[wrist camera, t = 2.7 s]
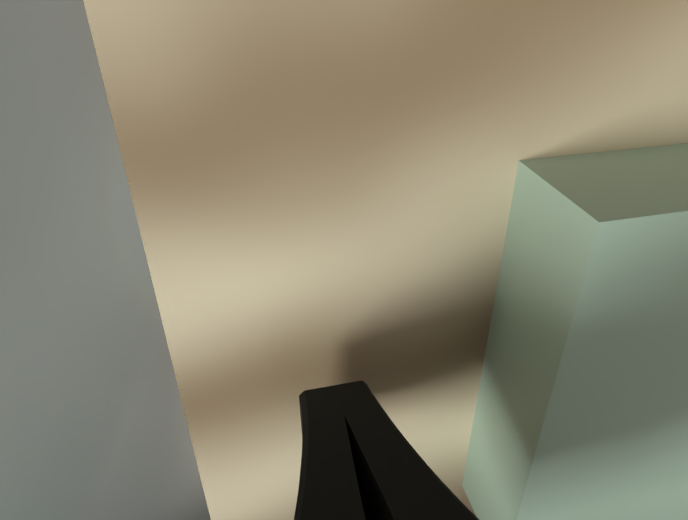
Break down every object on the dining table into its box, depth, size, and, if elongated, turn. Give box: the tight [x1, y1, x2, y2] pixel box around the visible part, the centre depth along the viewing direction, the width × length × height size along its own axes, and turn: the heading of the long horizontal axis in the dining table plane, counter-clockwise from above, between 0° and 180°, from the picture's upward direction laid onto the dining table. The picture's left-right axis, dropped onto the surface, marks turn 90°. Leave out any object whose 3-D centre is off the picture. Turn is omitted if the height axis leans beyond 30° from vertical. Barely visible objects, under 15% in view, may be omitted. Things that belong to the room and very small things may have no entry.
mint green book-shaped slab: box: [462, 143, 688, 520], centre depth 13 cm, size 10×8×2 cm
